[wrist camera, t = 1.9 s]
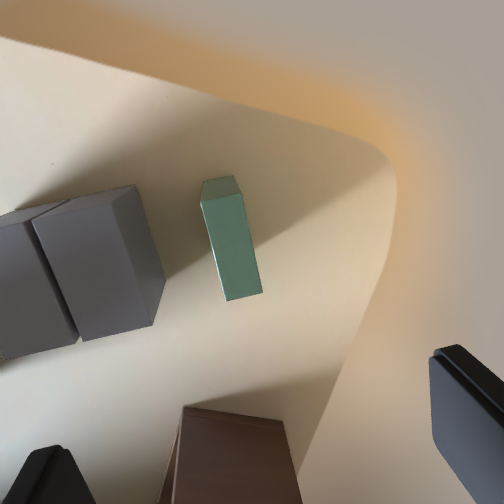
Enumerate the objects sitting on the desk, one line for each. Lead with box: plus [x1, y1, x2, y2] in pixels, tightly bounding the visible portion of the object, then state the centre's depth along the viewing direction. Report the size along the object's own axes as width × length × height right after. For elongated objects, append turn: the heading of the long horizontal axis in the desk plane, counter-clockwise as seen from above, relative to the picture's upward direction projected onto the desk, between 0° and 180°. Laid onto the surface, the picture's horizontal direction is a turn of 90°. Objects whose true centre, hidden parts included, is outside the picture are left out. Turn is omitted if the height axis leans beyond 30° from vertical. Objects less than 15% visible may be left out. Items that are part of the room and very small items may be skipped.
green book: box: [200, 175, 263, 301], centre depth 28 cm, size 3×7×9 cm, turn 12°
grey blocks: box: [0, 184, 166, 360], centre depth 28 cm, size 10×9×8 cm
